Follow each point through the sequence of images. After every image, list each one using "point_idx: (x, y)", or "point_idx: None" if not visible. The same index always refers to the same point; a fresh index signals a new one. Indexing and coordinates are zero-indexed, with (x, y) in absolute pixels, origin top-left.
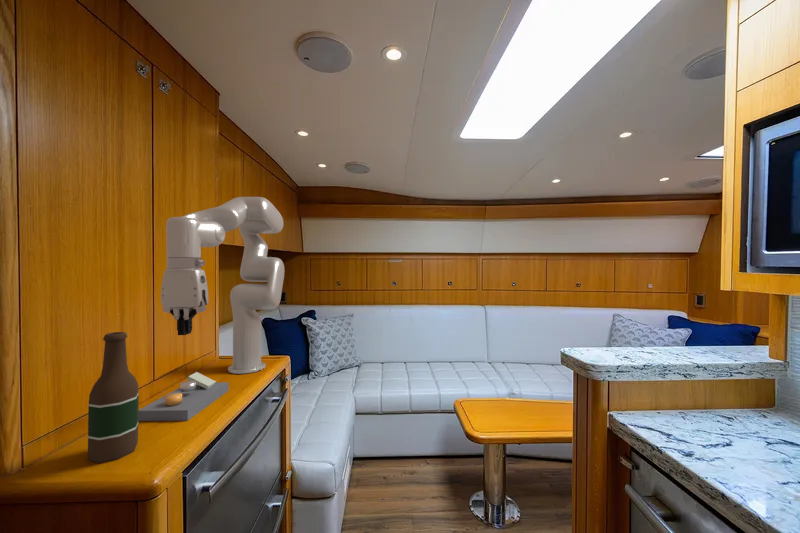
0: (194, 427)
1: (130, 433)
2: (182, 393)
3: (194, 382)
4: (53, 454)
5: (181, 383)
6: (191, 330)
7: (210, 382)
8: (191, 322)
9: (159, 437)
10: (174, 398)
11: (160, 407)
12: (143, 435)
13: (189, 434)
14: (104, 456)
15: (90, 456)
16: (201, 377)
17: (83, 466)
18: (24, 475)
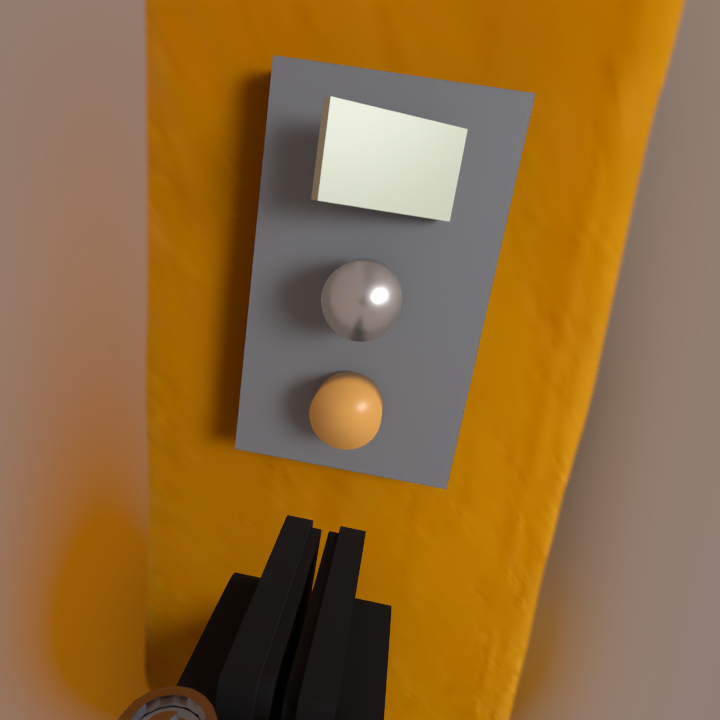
0: (493, 530)
1: None
2: (326, 261)
3: (394, 300)
4: (150, 605)
5: (325, 307)
6: (388, 605)
7: (444, 168)
8: (383, 714)
9: (400, 575)
10: (363, 445)
11: (311, 432)
12: None
13: (495, 578)
14: None
15: None
16: (382, 149)
17: None
18: (169, 686)
